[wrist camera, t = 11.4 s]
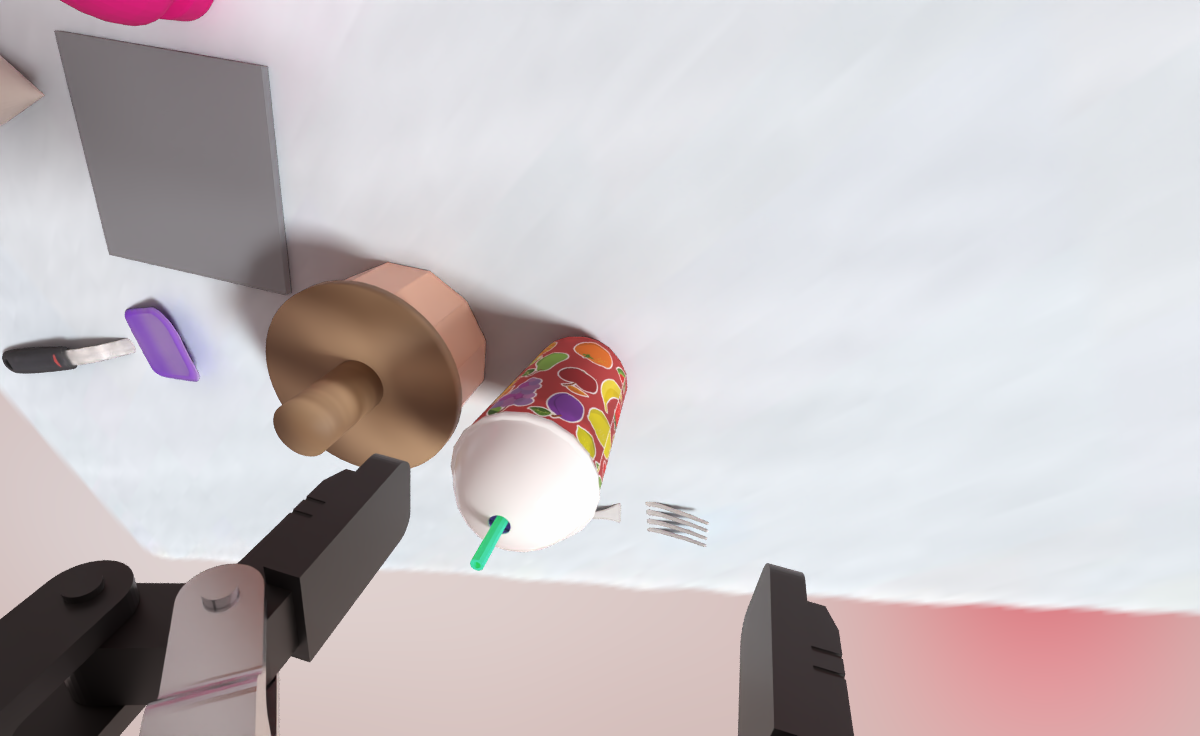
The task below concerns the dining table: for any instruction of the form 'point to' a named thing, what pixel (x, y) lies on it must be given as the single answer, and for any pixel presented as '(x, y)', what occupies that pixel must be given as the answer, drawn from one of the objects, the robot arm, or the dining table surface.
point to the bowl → (437, 316)
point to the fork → (615, 515)
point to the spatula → (115, 350)
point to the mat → (180, 158)
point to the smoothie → (540, 450)
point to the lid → (361, 375)
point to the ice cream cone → (15, 92)
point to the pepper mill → (141, 10)
